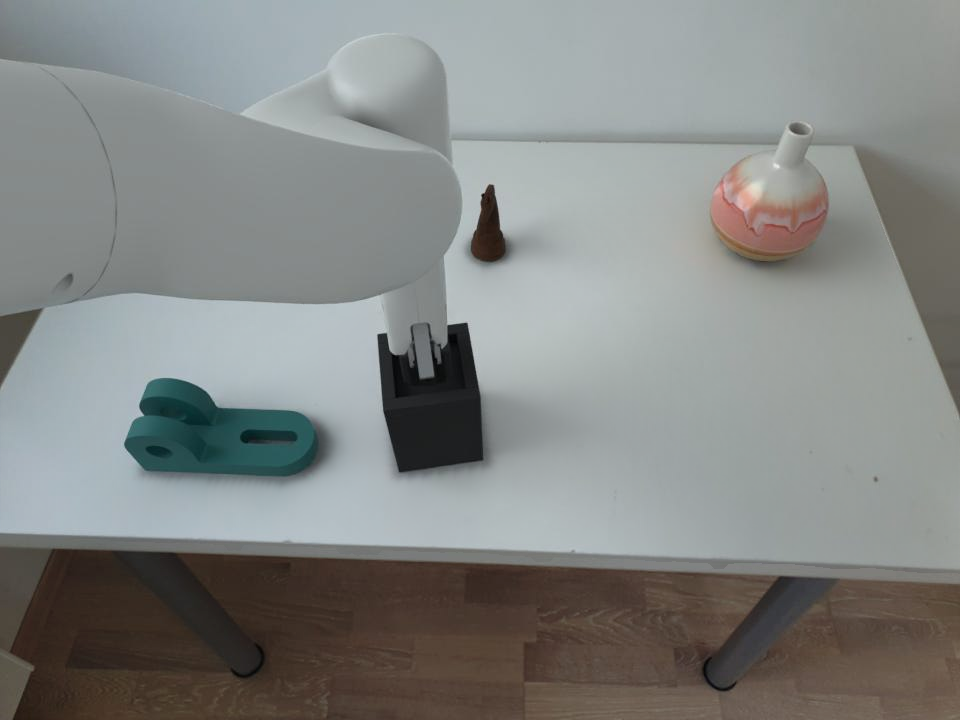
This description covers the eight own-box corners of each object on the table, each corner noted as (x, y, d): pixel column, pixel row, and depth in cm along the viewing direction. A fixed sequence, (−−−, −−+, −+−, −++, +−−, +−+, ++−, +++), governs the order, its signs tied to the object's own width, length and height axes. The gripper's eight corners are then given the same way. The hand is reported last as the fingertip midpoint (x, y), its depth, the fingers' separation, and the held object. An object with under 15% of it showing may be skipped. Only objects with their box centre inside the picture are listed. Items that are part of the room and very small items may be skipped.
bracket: (145, 470, 75) (112, 434, 69) (165, 416, 79) (135, 376, 73) (311, 477, 74) (293, 441, 68) (323, 422, 78) (307, 382, 72)
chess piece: (466, 258, 92) (463, 200, 84) (477, 231, 95) (475, 172, 87) (500, 265, 91) (500, 206, 83) (510, 237, 94) (511, 178, 86)
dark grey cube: (404, 383, 65) (399, 357, 62) (400, 344, 68) (395, 318, 65) (452, 376, 65) (450, 351, 62) (446, 338, 68) (444, 311, 65)
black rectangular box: (399, 472, 75) (383, 411, 64) (392, 401, 80) (376, 333, 70) (483, 460, 75) (480, 397, 65) (471, 390, 80) (467, 321, 70)
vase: (701, 275, 90) (740, 162, 75) (699, 201, 97) (734, 87, 83) (814, 286, 88) (875, 173, 74) (802, 210, 96) (856, 95, 82)
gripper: (348, 146, 56) (380, 296, 71) (358, 308, 46) (392, 443, 61) (442, 136, 57) (454, 287, 72) (471, 293, 47) (478, 431, 62)
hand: (425, 358), depth 66 cm, fingers closed on dark grey cube, 4 cm apart
